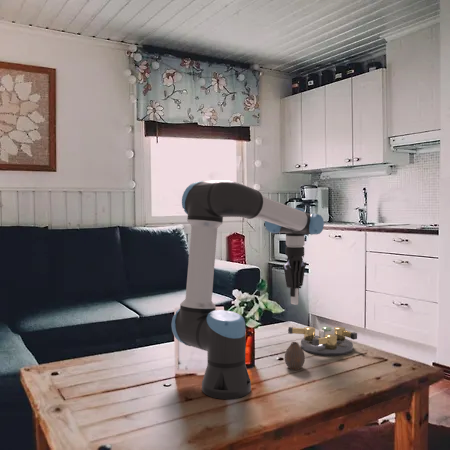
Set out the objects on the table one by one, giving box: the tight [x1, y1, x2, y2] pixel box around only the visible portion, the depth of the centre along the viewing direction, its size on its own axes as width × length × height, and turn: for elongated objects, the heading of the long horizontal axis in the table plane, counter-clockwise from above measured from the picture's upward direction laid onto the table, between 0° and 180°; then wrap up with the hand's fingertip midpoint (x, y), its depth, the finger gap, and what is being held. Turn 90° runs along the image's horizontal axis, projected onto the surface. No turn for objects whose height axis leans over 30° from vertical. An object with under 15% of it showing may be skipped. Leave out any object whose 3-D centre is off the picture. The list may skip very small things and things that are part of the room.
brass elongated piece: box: [333, 326, 358, 341], centre depth 187 cm, size 11×4×4 cm, turn 31°
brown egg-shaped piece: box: [284, 341, 306, 371], centre depth 164 cm, size 7×7×9 cm
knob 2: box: [312, 334, 337, 349], centre depth 178 cm, size 11×4×4 cm, turn 121°
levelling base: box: [300, 326, 354, 357], centre depth 186 cm, size 20×20×8 cm
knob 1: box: [287, 326, 316, 341], centre depth 190 cm, size 11×4×4 cm, turn 76°
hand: (294, 304), depth 192 cm, fingers closed
